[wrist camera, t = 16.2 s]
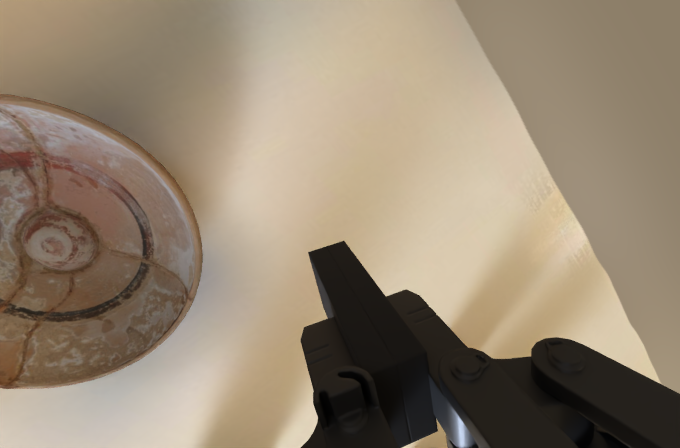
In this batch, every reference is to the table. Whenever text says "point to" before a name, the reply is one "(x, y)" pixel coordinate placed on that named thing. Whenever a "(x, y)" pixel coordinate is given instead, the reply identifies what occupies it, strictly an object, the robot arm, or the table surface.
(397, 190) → the table surface
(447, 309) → the table surface
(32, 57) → the table surface
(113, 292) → the ceramic bowl
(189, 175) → the table surface
